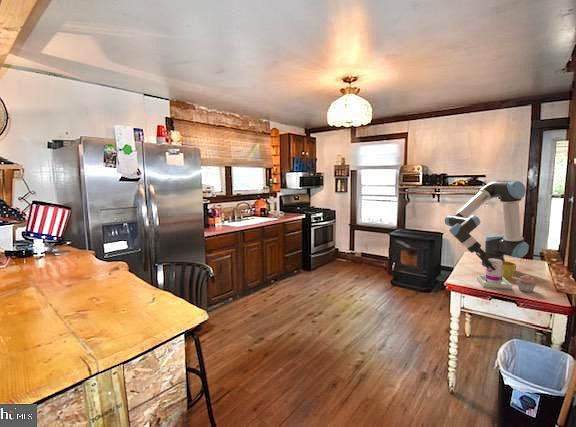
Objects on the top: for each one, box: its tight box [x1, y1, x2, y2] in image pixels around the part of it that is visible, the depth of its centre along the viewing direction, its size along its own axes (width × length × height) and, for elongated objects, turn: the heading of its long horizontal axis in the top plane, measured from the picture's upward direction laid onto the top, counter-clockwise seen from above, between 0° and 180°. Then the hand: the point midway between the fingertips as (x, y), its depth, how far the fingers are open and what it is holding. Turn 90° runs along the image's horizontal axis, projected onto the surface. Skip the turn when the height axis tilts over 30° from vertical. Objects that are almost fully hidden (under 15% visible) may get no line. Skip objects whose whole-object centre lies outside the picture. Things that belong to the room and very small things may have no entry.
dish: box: [476, 275, 513, 291], centre depth 183 cm, size 15×15×3 cm
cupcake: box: [515, 273, 537, 293], centre depth 172 cm, size 9×9×10 cm
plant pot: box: [502, 260, 517, 280], centre depth 195 cm, size 10×10×10 cm
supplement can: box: [485, 258, 503, 284], centre depth 182 cm, size 8×8×15 cm
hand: (498, 270), depth 181 cm, fingers open, 13 cm apart
